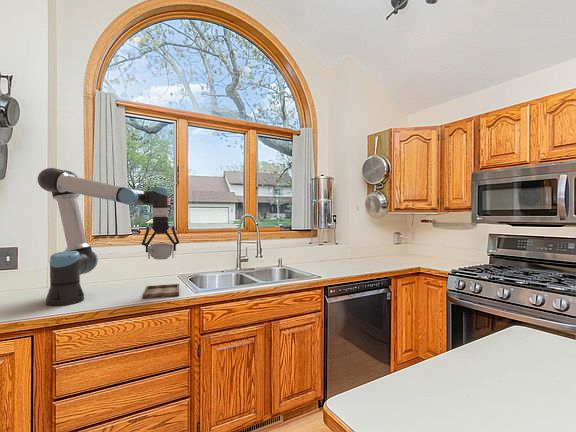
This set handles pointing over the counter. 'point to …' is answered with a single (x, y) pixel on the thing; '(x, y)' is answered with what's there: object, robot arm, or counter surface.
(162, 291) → the brown wooden tray
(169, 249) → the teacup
